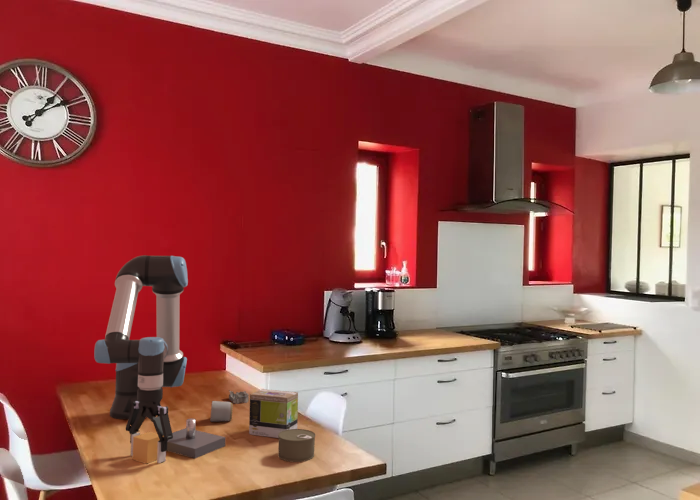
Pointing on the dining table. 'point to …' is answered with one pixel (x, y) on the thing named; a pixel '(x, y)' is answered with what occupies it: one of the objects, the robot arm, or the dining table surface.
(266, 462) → the dining table surface
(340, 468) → the dining table surface
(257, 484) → the dining table surface
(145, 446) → the orange toy cube
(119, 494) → the dining table surface
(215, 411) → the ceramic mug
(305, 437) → the can
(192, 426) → the post
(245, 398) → the egg carton
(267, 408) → the tea box
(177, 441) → the dark gray slab
